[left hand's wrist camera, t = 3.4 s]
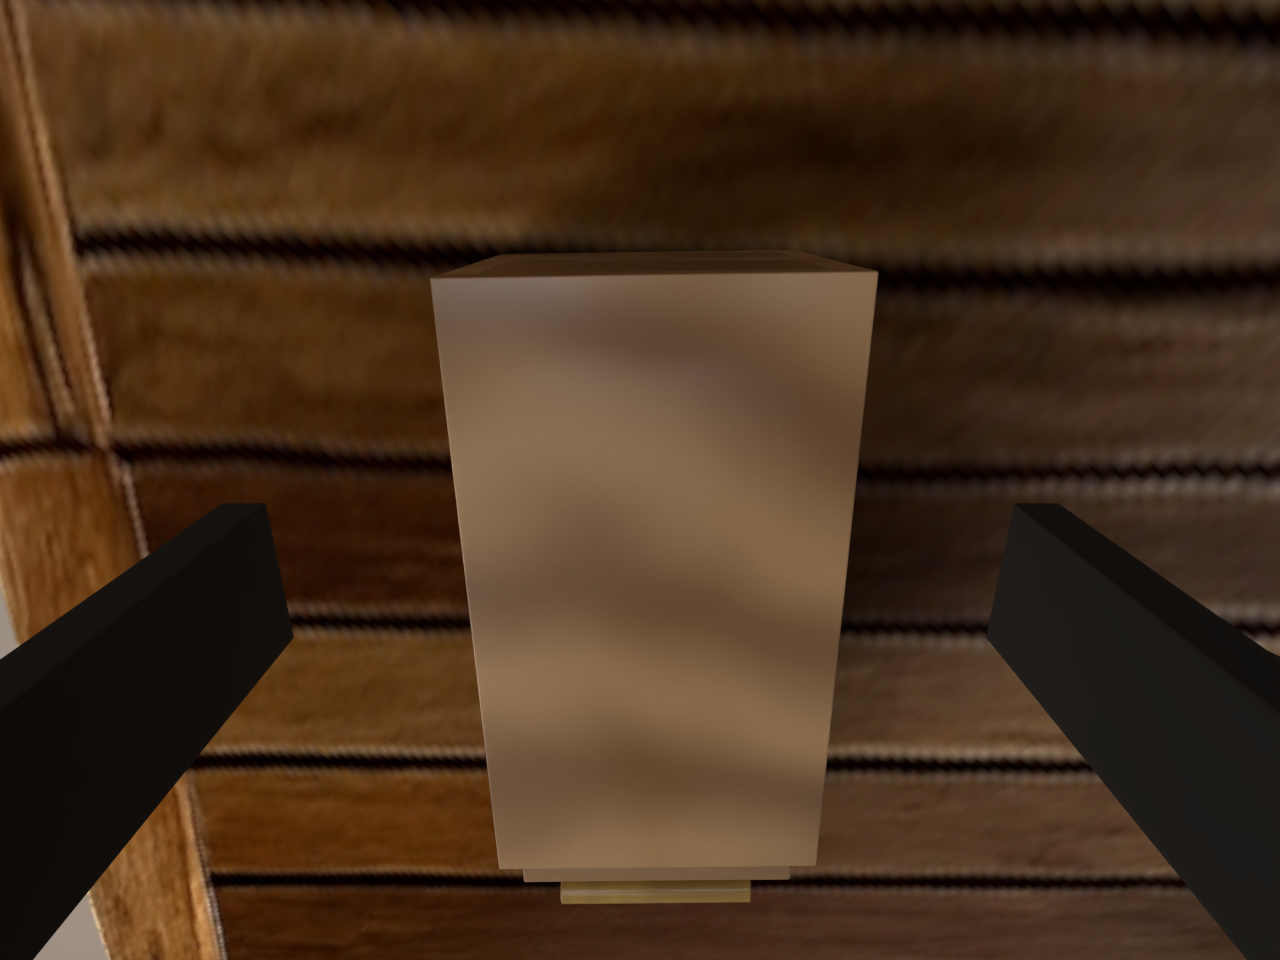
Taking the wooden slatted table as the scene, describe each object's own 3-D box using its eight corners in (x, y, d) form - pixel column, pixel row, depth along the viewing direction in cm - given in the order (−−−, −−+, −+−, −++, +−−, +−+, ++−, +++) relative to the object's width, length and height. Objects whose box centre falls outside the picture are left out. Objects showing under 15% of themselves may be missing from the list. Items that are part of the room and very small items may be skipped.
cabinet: (768, 689, 35) (816, 866, 25) (536, 692, 35) (498, 869, 25) (797, 249, 27) (879, 271, 18) (501, 253, 27) (429, 277, 18)
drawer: (752, 826, 36) (781, 985, 29) (555, 829, 37) (534, 987, 29) (781, 336, 27) (834, 385, 20) (518, 340, 27) (473, 390, 20)
